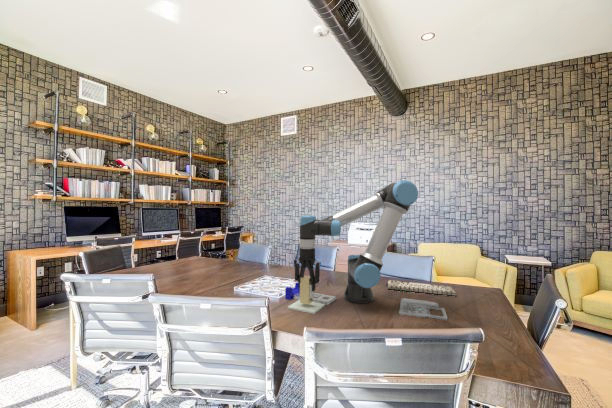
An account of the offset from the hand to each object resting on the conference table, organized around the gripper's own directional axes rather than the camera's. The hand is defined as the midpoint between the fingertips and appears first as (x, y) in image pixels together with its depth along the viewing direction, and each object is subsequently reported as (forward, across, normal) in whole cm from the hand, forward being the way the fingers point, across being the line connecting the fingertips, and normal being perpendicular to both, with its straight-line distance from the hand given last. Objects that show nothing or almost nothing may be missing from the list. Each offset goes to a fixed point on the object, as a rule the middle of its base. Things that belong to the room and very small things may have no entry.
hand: (306, 296), depth 135 cm
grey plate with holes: (+5, +2, -13) cm, 14 cm away
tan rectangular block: (+3, 0, 0) cm, 3 cm away
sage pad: (+5, 0, 0) cm, 5 cm away
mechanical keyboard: (+6, -45, -60) cm, 75 cm away
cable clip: (+5, +14, -12) cm, 19 cm away
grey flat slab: (+6, -49, -25) cm, 55 cm away
